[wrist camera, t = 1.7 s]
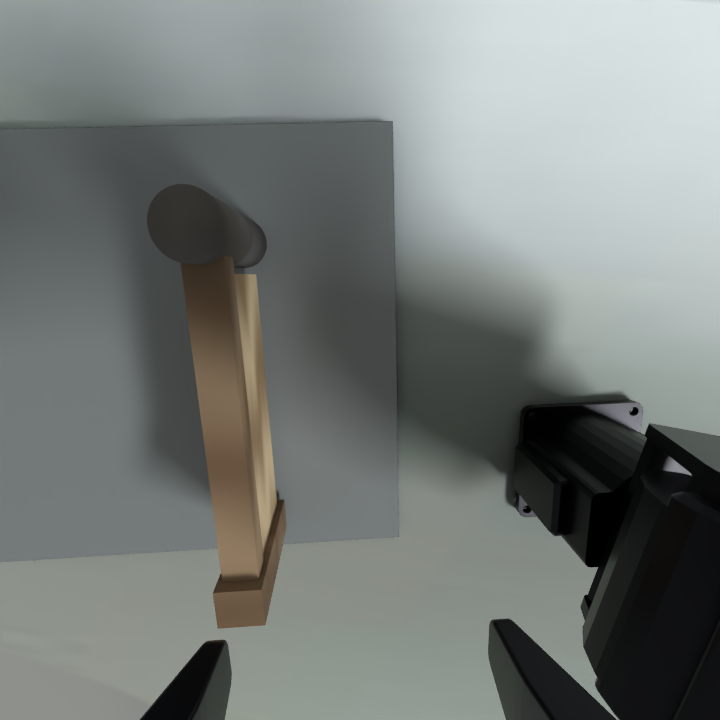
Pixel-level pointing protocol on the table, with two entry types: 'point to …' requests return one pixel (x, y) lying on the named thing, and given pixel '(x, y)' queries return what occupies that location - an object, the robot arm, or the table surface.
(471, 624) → the table surface
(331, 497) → the gate base
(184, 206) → the wooden bar with ends
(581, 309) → the table surface
